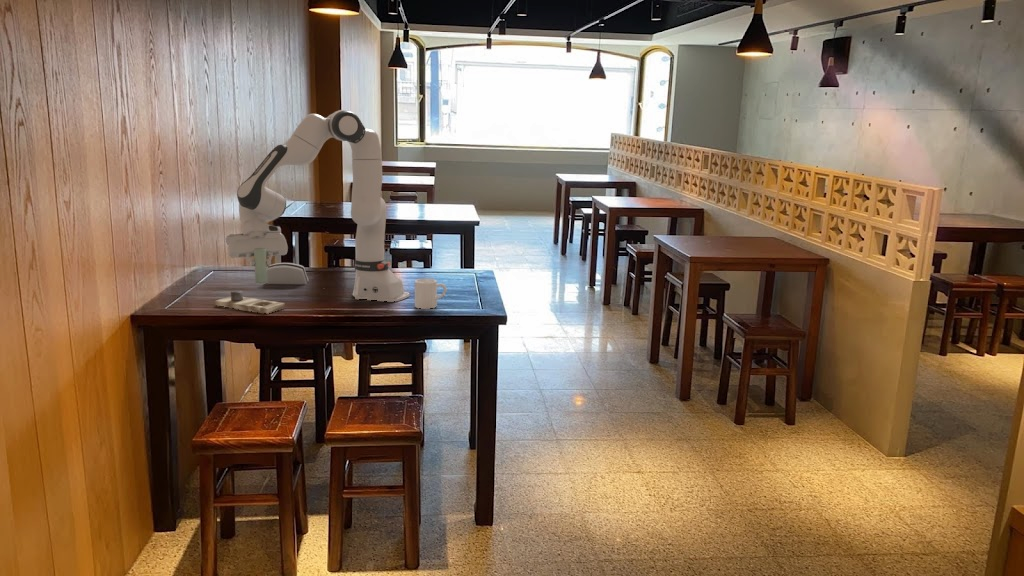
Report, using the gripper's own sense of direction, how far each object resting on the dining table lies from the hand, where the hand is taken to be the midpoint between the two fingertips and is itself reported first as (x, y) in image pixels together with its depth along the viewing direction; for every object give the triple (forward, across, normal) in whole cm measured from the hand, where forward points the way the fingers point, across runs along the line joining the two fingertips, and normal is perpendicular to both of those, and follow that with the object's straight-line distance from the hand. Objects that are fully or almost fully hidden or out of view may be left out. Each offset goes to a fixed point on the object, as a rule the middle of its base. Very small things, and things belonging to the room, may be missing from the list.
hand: (260, 264), depth 261 cm
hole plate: (+8, -4, +15) cm, 18 cm away
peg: (+4, 0, +5) cm, 6 cm away
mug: (+24, +57, -1) cm, 62 cm away
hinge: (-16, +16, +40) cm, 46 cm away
